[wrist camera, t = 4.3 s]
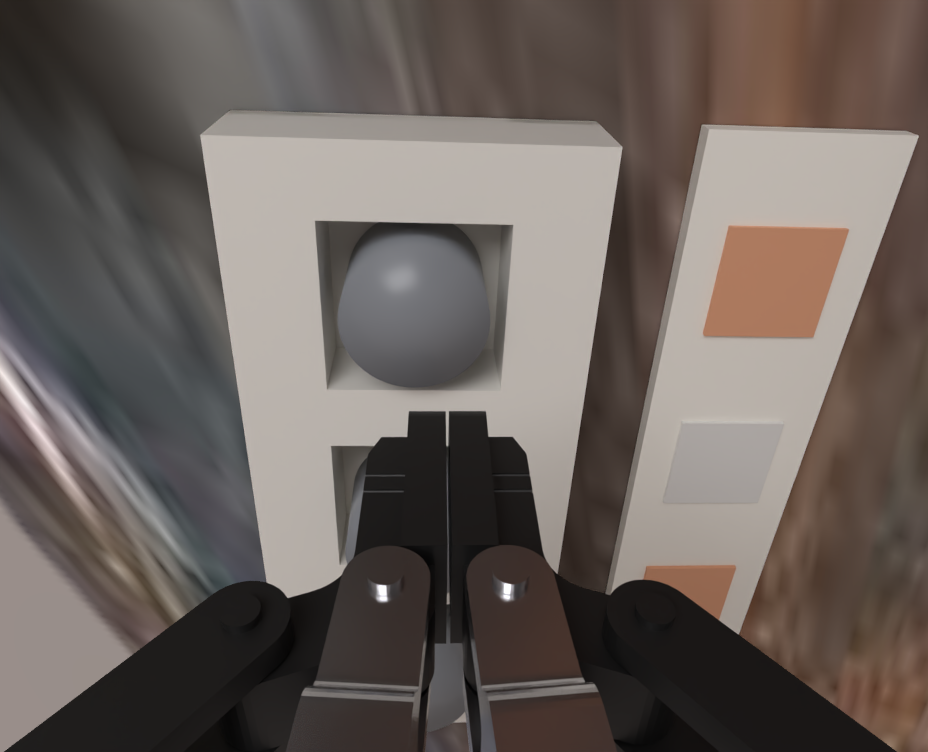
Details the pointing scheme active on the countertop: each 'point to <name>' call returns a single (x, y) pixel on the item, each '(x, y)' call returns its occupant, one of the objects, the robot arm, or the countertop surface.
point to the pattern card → (749, 348)
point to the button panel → (322, 279)
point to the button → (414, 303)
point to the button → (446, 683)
